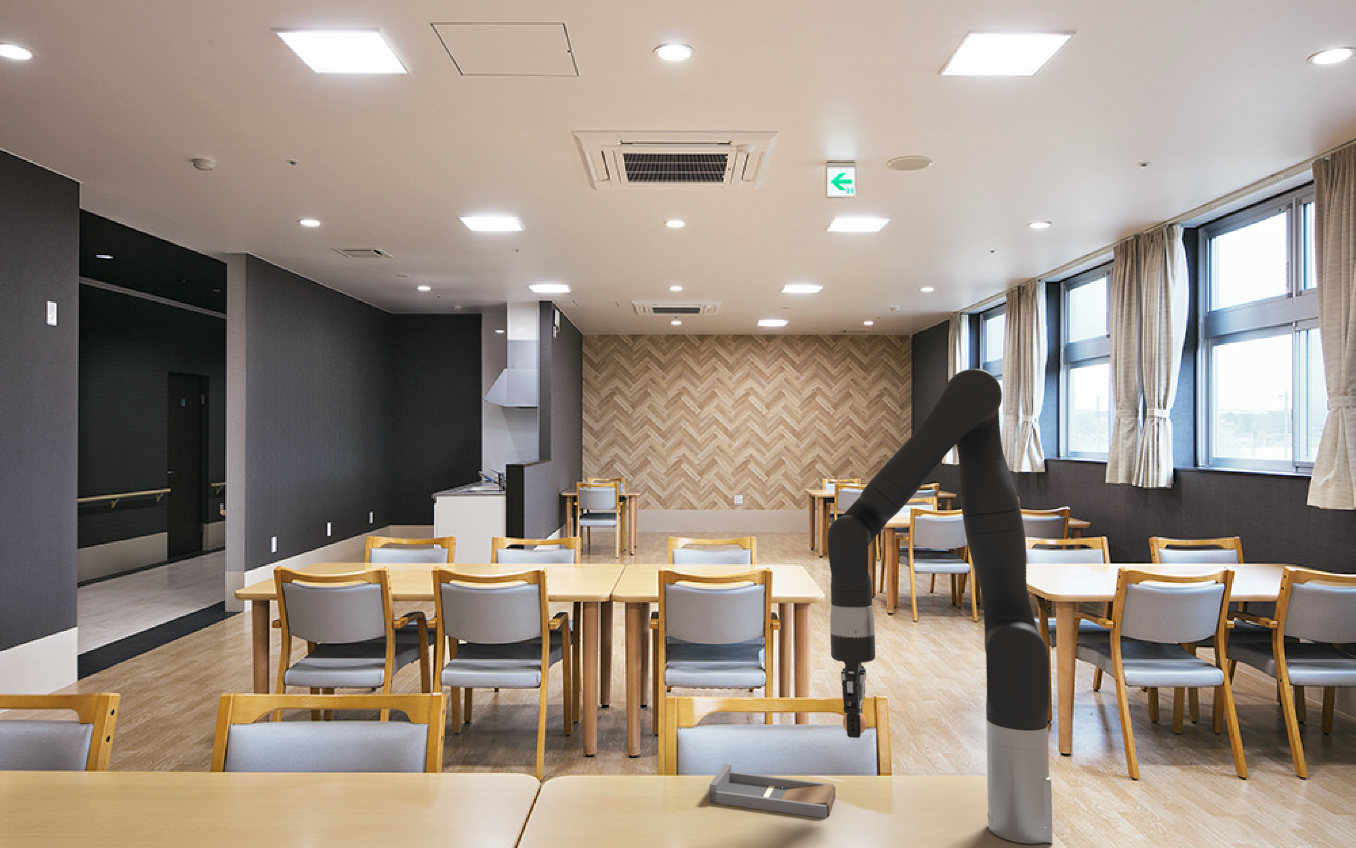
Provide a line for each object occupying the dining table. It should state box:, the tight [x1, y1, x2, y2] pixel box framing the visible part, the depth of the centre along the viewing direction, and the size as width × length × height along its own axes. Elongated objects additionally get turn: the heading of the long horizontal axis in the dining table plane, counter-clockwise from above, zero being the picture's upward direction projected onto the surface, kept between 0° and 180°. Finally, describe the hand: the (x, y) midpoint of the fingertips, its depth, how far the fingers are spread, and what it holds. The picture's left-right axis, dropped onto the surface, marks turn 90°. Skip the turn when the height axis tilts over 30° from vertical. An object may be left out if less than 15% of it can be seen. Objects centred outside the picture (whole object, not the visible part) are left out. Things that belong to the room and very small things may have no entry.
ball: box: [842, 713, 868, 734], centre depth 138 cm, size 4×4×4 cm
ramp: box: [782, 783, 836, 817], centre depth 139 cm, size 9×9×3 cm
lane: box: [709, 763, 835, 819], centre depth 141 cm, size 20×11×3 cm, turn 72°
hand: (855, 732), depth 138 cm, fingers closed on ball, 4 cm apart
